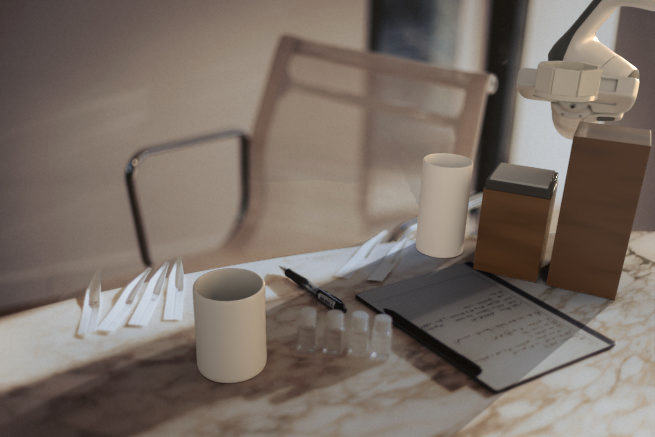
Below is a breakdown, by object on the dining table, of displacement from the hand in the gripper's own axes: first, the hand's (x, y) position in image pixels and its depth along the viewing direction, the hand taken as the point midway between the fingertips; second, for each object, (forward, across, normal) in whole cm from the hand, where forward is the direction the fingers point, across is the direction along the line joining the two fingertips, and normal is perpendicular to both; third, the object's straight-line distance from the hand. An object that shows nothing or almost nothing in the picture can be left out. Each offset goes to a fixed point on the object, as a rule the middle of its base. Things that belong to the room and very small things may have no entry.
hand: (575, 71), depth 104 cm
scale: (+6, -4, +22) cm, 23 cm away
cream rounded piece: (+5, 0, +5) cm, 7 cm away
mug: (+37, -31, +56) cm, 73 cm away
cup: (-1, -16, +34) cm, 38 cm away
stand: (-1, +2, +34) cm, 34 cm away
